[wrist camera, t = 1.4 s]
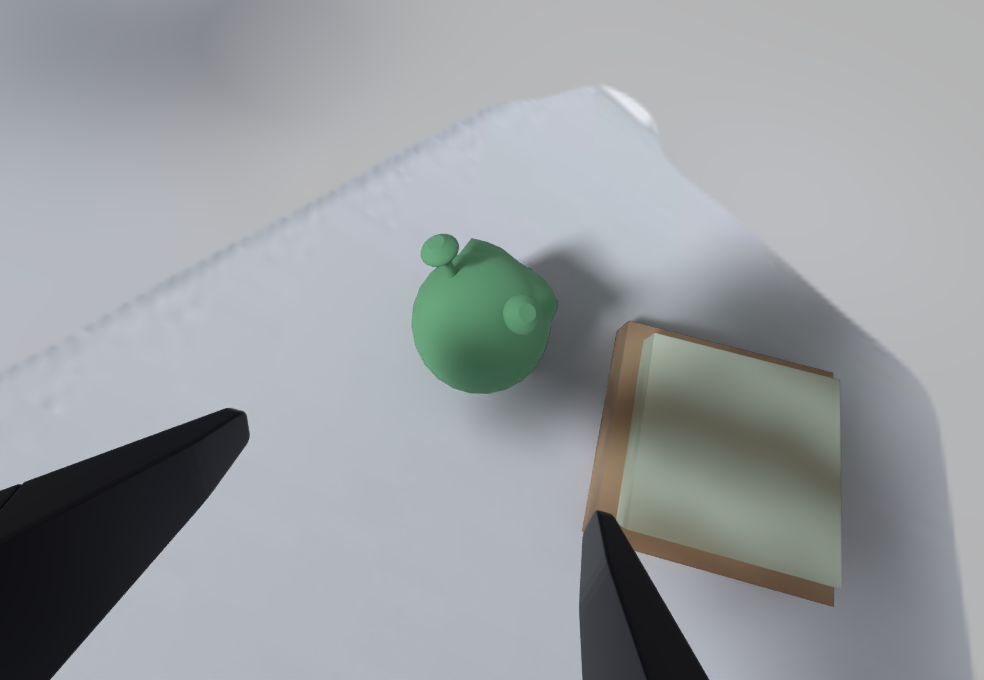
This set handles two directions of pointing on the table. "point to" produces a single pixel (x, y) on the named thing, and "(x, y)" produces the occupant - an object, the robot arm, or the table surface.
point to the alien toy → (480, 316)
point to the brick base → (722, 461)
